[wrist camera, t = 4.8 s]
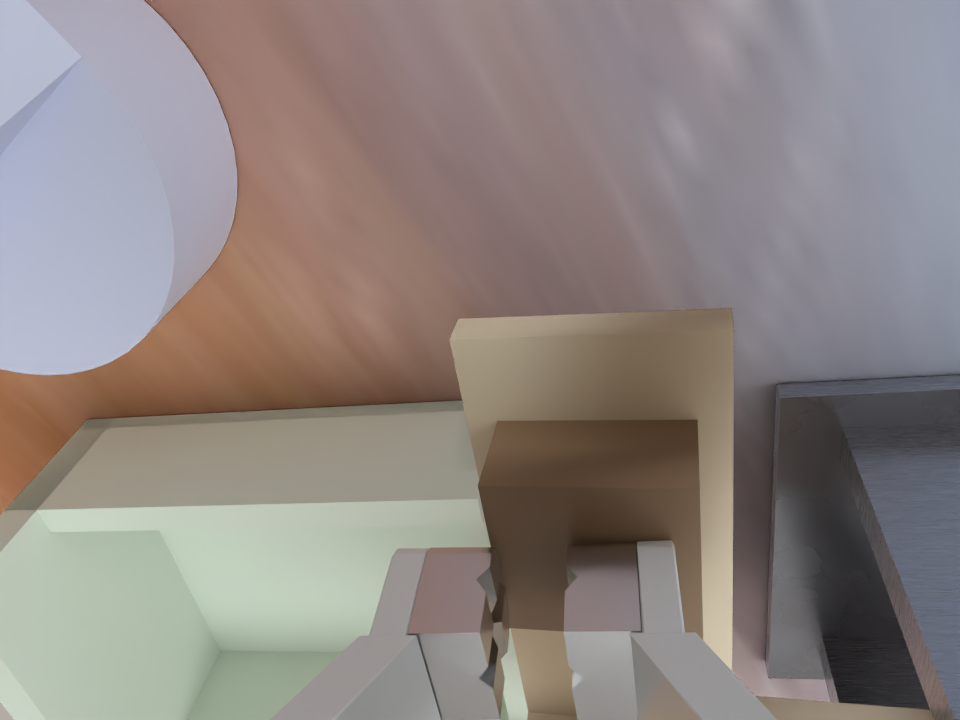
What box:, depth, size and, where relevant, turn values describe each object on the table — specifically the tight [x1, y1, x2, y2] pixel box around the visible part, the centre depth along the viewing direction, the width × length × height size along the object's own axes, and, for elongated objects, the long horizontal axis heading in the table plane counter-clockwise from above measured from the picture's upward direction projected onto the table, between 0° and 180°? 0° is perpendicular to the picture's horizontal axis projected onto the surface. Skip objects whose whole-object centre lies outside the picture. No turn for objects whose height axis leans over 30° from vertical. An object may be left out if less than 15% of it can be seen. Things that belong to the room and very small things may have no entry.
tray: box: [0, 400, 528, 720], centre depth 23 cm, size 13×11×7 cm
